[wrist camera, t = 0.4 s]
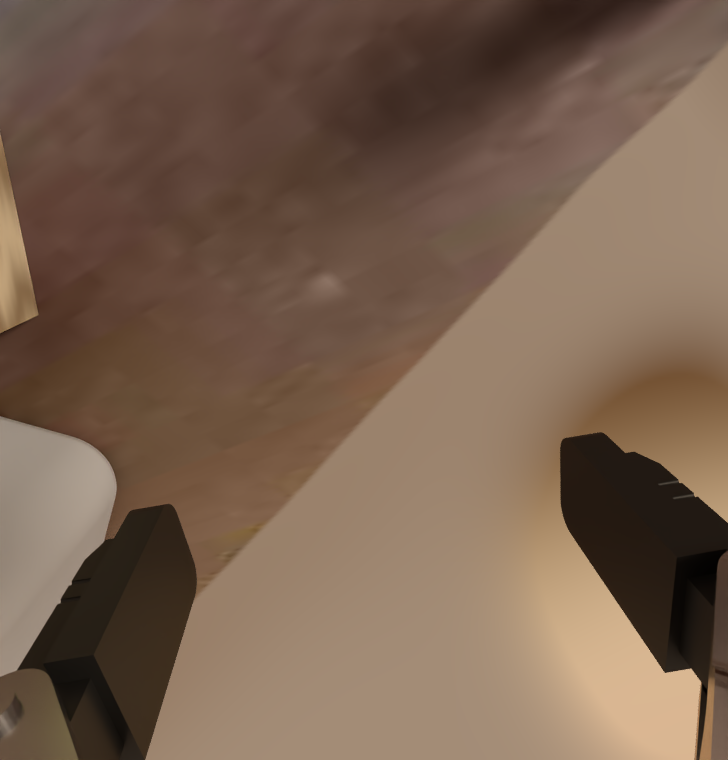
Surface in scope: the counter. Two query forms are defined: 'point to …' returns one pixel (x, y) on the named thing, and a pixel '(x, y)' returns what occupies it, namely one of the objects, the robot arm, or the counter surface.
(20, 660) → the plastic bottle
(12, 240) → the bore block
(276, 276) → the counter surface
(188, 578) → the robot arm
